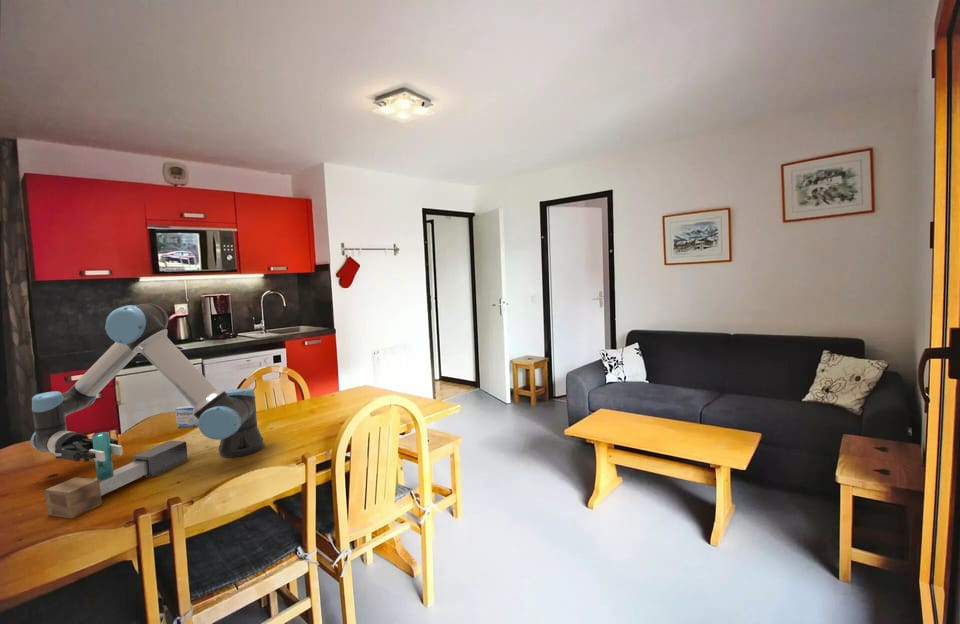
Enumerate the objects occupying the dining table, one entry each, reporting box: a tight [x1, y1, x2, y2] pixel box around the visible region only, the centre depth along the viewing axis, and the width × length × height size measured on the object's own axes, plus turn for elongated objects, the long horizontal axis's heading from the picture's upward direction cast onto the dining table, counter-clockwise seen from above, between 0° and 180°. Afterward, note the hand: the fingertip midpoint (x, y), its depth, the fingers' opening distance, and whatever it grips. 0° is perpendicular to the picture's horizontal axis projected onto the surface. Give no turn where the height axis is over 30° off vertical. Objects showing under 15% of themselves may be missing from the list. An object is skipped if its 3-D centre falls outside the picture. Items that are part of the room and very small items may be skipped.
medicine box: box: [174, 405, 199, 429], centre depth 206 cm, size 8×4×9 cm, turn 99°
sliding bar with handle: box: [91, 431, 149, 497], centre depth 147 cm, size 23×4×18 cm, turn 166°
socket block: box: [44, 476, 103, 519], centre depth 134 cm, size 8×9×8 cm
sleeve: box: [132, 440, 189, 478], centre depth 161 cm, size 14×7×7 cm, turn 166°
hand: (112, 453), depth 140 cm, fingers closed on sliding bar with handle, 4 cm apart
